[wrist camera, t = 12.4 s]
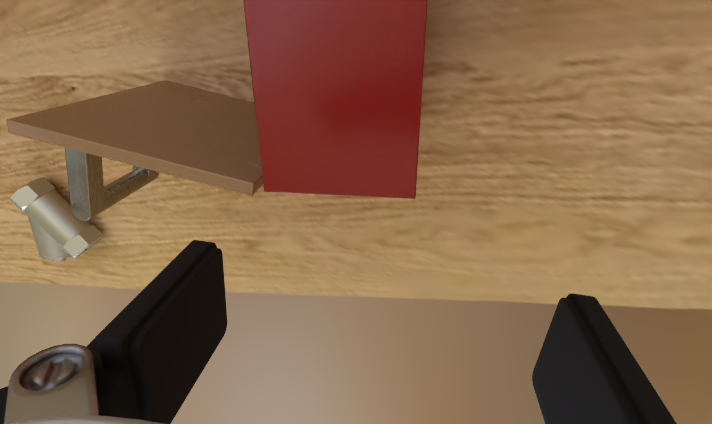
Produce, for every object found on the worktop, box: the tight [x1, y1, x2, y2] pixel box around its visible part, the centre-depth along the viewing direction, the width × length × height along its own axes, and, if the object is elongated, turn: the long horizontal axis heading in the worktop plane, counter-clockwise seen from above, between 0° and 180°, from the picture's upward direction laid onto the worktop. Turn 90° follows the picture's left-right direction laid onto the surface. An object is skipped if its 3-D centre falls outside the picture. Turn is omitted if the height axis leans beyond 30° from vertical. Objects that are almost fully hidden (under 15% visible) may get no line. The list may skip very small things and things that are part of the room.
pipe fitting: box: [10, 177, 103, 262], centre depth 43 cm, size 8×4×7 cm
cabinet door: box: [7, 81, 263, 221], centre depth 31 cm, size 7×14×16 cm, turn 78°
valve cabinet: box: [244, 0, 427, 199], centre depth 26 cm, size 8×14×16 cm, turn 1°
